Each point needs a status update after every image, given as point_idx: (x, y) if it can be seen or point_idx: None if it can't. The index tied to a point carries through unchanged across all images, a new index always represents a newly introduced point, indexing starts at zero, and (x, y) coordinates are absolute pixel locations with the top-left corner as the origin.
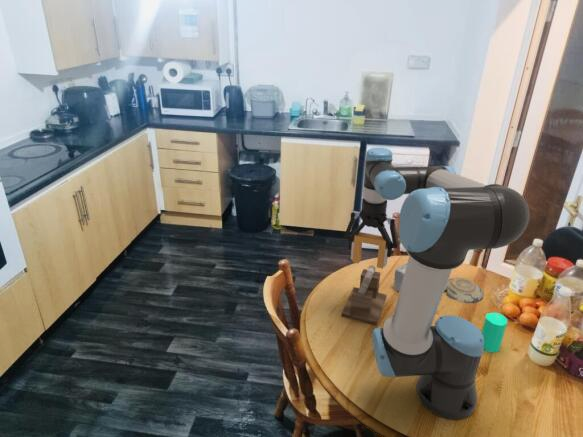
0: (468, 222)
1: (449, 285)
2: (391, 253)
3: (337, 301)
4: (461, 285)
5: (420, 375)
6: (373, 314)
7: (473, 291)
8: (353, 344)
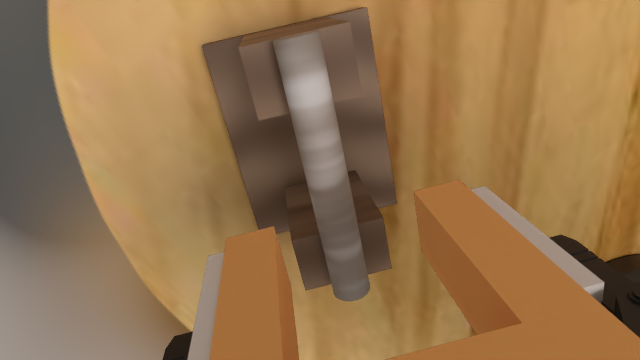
0: None
1: None
2: (583, 251)
3: (195, 162)
4: None
5: None
6: (370, 175)
7: None
8: (361, 308)
